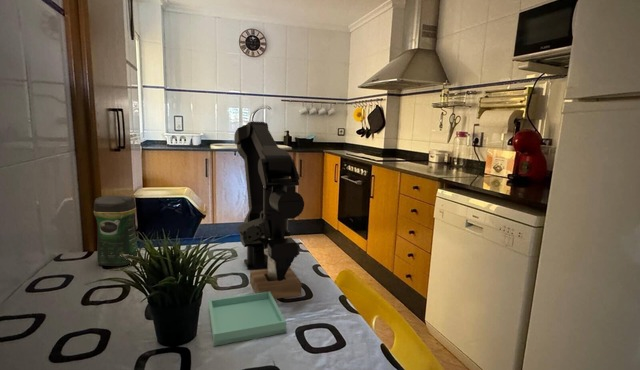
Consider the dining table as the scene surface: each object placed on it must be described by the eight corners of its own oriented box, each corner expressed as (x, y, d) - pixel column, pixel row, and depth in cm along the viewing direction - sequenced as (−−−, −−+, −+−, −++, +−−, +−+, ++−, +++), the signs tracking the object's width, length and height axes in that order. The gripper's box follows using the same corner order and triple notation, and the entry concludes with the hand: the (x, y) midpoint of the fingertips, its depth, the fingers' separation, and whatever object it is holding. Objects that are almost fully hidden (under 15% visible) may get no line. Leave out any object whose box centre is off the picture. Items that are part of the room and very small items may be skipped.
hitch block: (250, 282, 86) (250, 271, 86) (289, 277, 90) (289, 266, 89) (258, 301, 77) (258, 288, 76) (301, 294, 80) (301, 282, 80)
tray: (208, 309, 73) (208, 299, 72) (269, 300, 77) (269, 291, 77) (213, 346, 61) (213, 334, 60) (285, 332, 65) (286, 321, 65)
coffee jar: (143, 256, 101) (140, 193, 98) (129, 267, 93) (125, 199, 90) (109, 256, 100) (104, 192, 97) (92, 266, 92) (87, 198, 89)
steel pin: (261, 285, 85) (262, 245, 83) (282, 282, 87) (283, 244, 85) (266, 294, 80) (266, 253, 78) (288, 291, 82) (289, 251, 80)
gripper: (234, 201, 86) (234, 262, 88) (247, 220, 69) (247, 294, 71) (278, 199, 90) (277, 257, 92) (301, 217, 73) (299, 287, 75)
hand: (275, 272), depth 83 cm, fingers open, 9 cm apart
